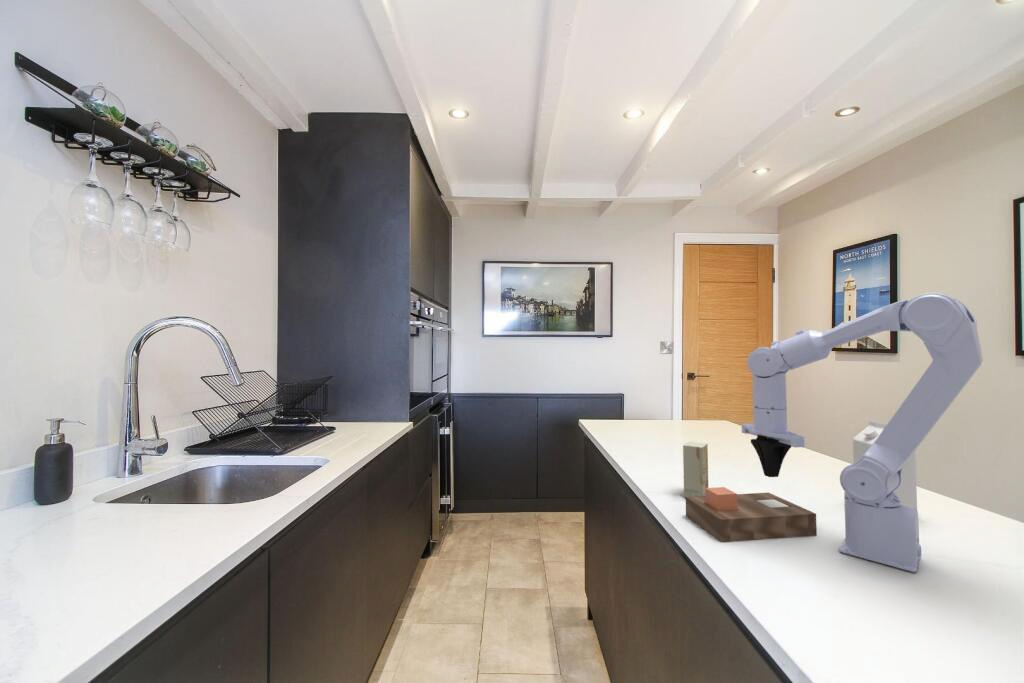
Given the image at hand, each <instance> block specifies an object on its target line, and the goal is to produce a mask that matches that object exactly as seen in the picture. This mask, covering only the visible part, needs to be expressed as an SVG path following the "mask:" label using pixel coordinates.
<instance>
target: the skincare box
mask: <svg viewBox="0 0 1024 683" xmlns="http://www.w3.org/2000/svg"><path fill="white" fill-rule="evenodd" d="M708 452H709V451H708V443H705V442H700V441H699V442H698V441H697V442H695V441H688V442H686V443H685V444H683V445H682V455H683V457H682V460H683V461H682V462H683V467H682V468H683V497H684V498H686V497H694V496H706V492H705V488H709V457H708V456H709V453H708Z"/></svg>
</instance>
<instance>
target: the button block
mask: <svg viewBox="0 0 1024 683" xmlns="http://www.w3.org/2000/svg"><path fill="white" fill-rule="evenodd" d="M771 499H774V500H777V501H779V502H781V503H783V504H785V505H787V506H789V507H784V508H769V507H767V506H765V505H763V504H761V503H759V502H757V501H756V500H771ZM685 517H686V518H688V519H689V520H691V522H693V523H695V524H696V525H697V526H699V527H700V528H702V529H703V530H705V532H707V533H708V534H710V535H711V536H713V537H714V538H715V539H717V540H718V541H720V542H721V543H728V542H729V543H730V542H742V541H757V540H758V541H759V540H772V539H785V538H786V539H787V538H788V539H789V538H800V537H801V538H803V537H814V536H817V534H818V532H817V527H818V526H817V513H815V512H813V511H811V510H809V509H808V508H807V509H806V508H804V507H802V506H800V505H797V504H795V503H793V502H791V501H788V500H786V499H784V498H782V497H779V496H777V495H775V494H773V493H771V492H756V493H754V492H753V493H737V510H733V511H716V510H714V509H713V508H711V507H709V506H708V505H706V496H694V497H685Z"/></svg>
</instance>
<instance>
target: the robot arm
mask: <svg viewBox="0 0 1024 683" xmlns="http://www.w3.org/2000/svg"><path fill="white" fill-rule="evenodd" d="M977 322H978V321H977V318H975V316H974V315H973V314H972V312H971V311H970V310H969V309H968V307H967V306H966V304H964V303H963V302H962V301H961V300H958V299H956V298H953V297H951V296H950V295H946V294H944V293H939V292H927V293H925V292H924V293H921V294H919V295H916V296H913V298H910V299H904V300H900V301H896V302H893V303H890V304H888V305H885V306H881V307H880V308H876V309H874V310H872V311H869V312H868V313H866V314H863V315H861V316H858V317H855V318H854V319H851V320H849V321H846V322H844V323H841V324H840V325H836V326H834V327H833V328H831V329H828V330H826V331H823V332H821V331H817V330H814V329H809V330H807V331H806V329H800V330H797V331H795V336H792V337H789V338H787V339H785V340H782V341H778V340H776V341H773V342H771V343H770V345H771V346H770V347H766V346H759V347H757V348H755V350H752V351H751V352H750V353H749V355H748V357H747V361H746V362H747V368H748V370H749V371H750V372H751V373H752V406H753V407H752V410H753V423H741V433H742V434H745V435H746V434H747V435H748V434H749V435H751V436H752V435H753V436H756V438H751V439H750V444H751V445H752V446H753V448H754V450H755V451H756V453H757V457H758V459H759V462H760V465H761V469H762V472H763V474H764V476H765V477H768V478H778V477H779V475H780V471H781V469H782V465H783V463H784V460H785V457H786V456H787V453H788V452H789V450H790V449H791V448H805V436H802V435H799V434H797V433H794V432H792V431H790V430H788V411H787V410H788V409H787V408H788V406H787V382H786V377H787V376H786V375H787V373H788V372H789V370H790V371H792V370H794V369H798V368H801V367H803V366H807V365H809V364H812V363H816V362H819V361H821V360H825V359H827V358H828V357H829V355H830V353H831V351H832V349H833V348H837V347H839V346H840V347H841V346H842V345H845V344H848V343H851V342H855V341H858V340H860V339H864V338H867V337H870V336H874V335H876V334H879V333H883V332H886V331H887V332H888V331H889V332H912V333H913V334H914V335H915V336H917V337H918V338H919V339H920V340H921V341H922V342H923V344H924V346H925V349H927V352H928V353H929V355H930V357H931V359H932V362H931V363H930V365H929V366H928V367H927V369H926V370H925V371H924V373H923V374H922V376H921V377H920V378H919V379H918V380H917V383H916V384H915V385H914V387H913V388H912V389H911V391H910V392H909V393H908V395H907V396H906V398H905V399H904V401H903V402H902V404H900V406H899V408H898V409H896V412H895V413H894V414H893V416H892V417H891V419H889V421H888V423H886V424H887V425H886V427H885V428H884V430H883V431H882V432H881V434H880V435H879V437H878V438H877V439H876V441H875V442H874V443H873V444H872V446H871V447H870V448H869V449H868V450H867V451H866V452H865V453H864V454H863V455H862V456H861V458H860V459H859V460H858V461H857V462H856V463H854V462H853V463H851V464H849V465H847V466H845V467H844V468H843V469H842V470H841V471H840V474H839V482H840V486H841V488H842V490H843V491H844V493H843V495H844V497H843V498H844V526H845V528H844V529H845V530H844V531H845V539H844V540H843V542H842V543H841V545H840V546H839V548H838V551H839V552H840V553H843V554H847V555H849V556H853V557H857V558H861V559H864V560H869V561H871V562H876V563H879V564H883V565H886V566H890V567H893V568H897V569H901V570H904V571H908V572H911V573H917V571H918V568H919V563H920V559H921V558H922V545H921V544H920V525H919V522H920V521H919V520H920V519H919V511H918V508H917V509H914V508H910V507H906V506H903V505H901V504H900V500H899V499H898V497H897V496H896V494H895V493H894V490H896V489H897V488H898V487H899V486H900V484H901V480H902V479H901V473H902V470H903V468H904V467H905V465H906V464H907V462H908V460H909V458H910V457H911V455H912V454H913V453H914V451H915V452H916V450H917V449H918V447H919V446H920V445H921V444H922V442H923V441H924V440H925V438H926V437H927V436H928V435H929V434H930V432H931V431H932V430H933V429H934V427H935V426H936V425H937V423H938V421H939V420H940V419H941V418H942V416H943V415H944V414H945V412H946V411H947V410H948V408H950V406H951V405H952V404H953V402H954V401H955V400H956V398H957V397H958V396H959V394H960V393H962V391H963V389H964V388H965V387H966V386H967V384H968V383H969V381H970V380H971V378H972V377H973V376H974V375H975V374H976V372H977V371H978V370H979V369H980V367H981V365H982V363H983V361H984V359H983V353H982V348H981V342H980V337H979V333H978V323H977Z"/></svg>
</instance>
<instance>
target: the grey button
mask: <svg viewBox="0 0 1024 683" xmlns="http://www.w3.org/2000/svg"><path fill="white" fill-rule="evenodd" d="M756 501H757V502H759V503H761V504H763V505H765V506H767V507H769V508H784V507H789V506H787V505H785V504H783V503H781V502H779V501H777V500H774V499H771V500H756Z"/></svg>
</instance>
